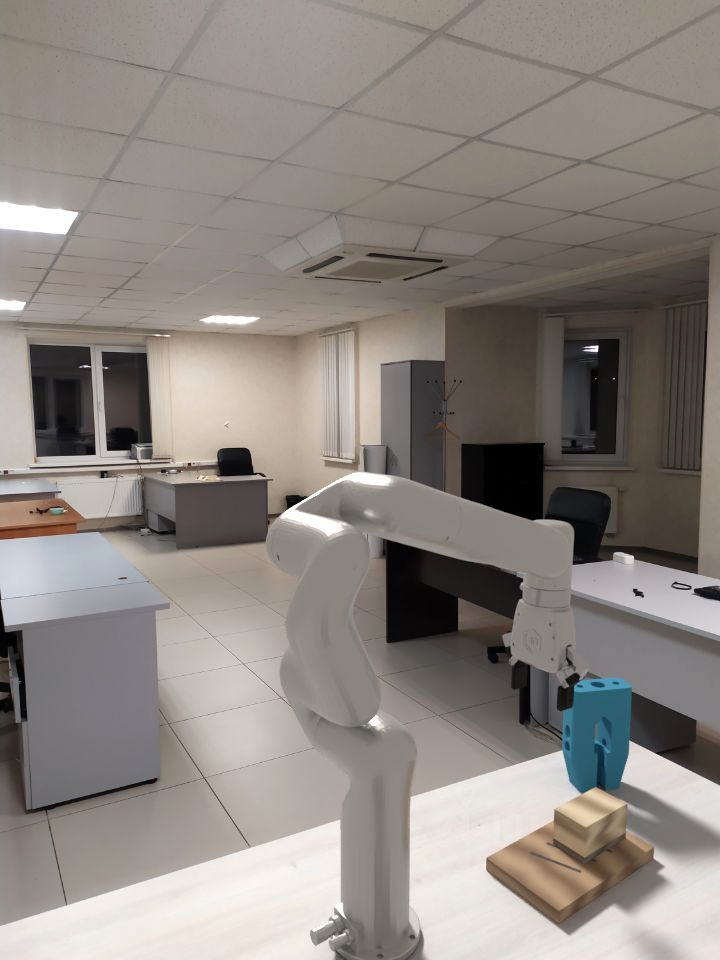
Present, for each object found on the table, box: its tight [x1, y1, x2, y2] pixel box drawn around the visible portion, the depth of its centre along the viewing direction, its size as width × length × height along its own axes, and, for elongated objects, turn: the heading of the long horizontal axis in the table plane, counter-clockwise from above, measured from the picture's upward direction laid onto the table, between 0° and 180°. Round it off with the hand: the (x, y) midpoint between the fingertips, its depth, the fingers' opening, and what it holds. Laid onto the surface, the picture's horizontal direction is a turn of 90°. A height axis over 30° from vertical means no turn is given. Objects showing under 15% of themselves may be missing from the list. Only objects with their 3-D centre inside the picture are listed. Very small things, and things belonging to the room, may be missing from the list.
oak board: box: [485, 820, 655, 925], centre depth 109 cm, size 24×14×2 cm, turn 126°
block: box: [561, 676, 633, 794], centre depth 131 cm, size 12×5×20 cm, turn 101°
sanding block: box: [553, 786, 628, 864], centre depth 111 cm, size 11×6×6 cm, turn 126°
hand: (540, 698), depth 112 cm, fingers open, 9 cm apart
